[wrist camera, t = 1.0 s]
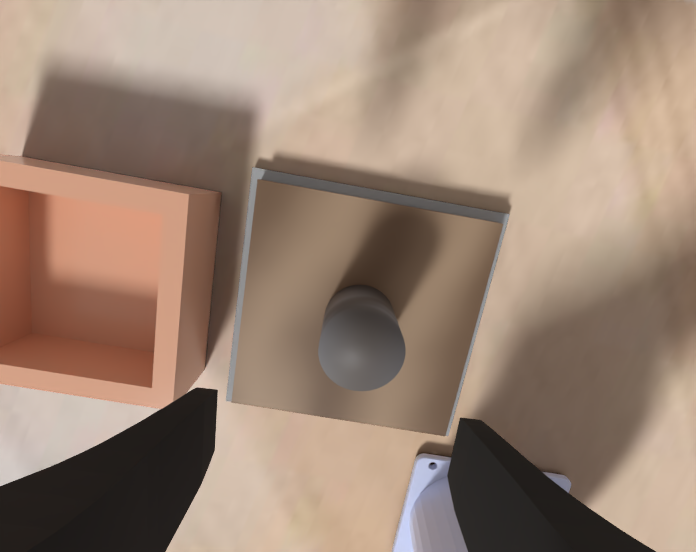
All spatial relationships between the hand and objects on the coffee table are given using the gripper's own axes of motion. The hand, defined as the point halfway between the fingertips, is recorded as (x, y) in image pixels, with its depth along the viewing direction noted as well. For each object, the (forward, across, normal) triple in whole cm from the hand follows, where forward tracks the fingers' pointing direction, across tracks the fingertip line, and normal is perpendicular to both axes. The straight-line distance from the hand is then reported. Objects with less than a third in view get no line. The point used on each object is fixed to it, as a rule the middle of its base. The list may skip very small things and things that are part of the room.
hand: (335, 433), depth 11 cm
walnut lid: (+10, -1, 0) cm, 10 cm away
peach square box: (+10, +12, -1) cm, 16 cm away
